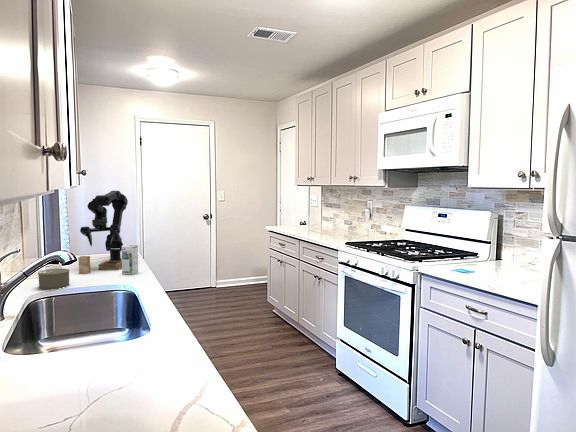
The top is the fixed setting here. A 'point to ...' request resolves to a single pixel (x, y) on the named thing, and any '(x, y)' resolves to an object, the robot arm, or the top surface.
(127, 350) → the top surface
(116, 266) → the walnut collar stand
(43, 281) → the can
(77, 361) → the top surface
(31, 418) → the top surface
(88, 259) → the tan wooden block
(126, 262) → the syrup box
